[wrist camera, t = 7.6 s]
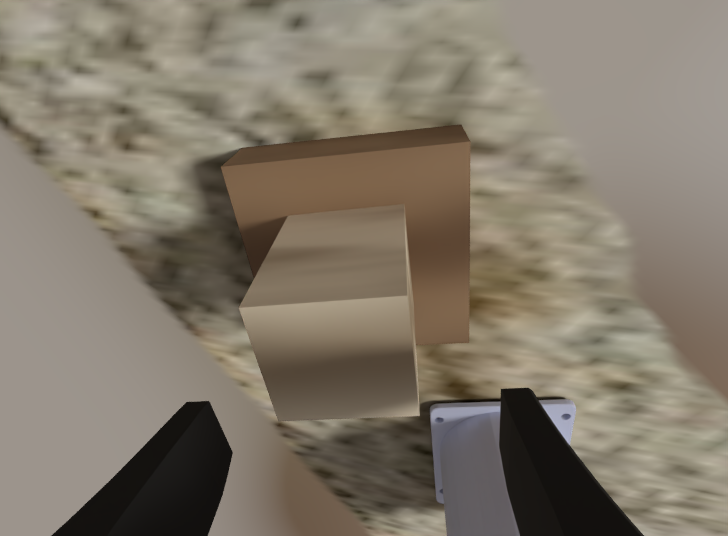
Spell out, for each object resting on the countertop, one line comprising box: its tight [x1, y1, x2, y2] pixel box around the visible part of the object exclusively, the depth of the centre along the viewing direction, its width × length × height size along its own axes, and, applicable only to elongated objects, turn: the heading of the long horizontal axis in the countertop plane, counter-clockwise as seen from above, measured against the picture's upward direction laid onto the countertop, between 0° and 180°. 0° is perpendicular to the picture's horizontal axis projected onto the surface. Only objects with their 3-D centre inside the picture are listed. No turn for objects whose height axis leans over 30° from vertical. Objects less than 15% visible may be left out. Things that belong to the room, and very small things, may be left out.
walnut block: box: [221, 125, 470, 345], centre depth 19 cm, size 9×9×3 cm
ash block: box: [239, 204, 420, 421], centre depth 15 cm, size 4×4×6 cm
